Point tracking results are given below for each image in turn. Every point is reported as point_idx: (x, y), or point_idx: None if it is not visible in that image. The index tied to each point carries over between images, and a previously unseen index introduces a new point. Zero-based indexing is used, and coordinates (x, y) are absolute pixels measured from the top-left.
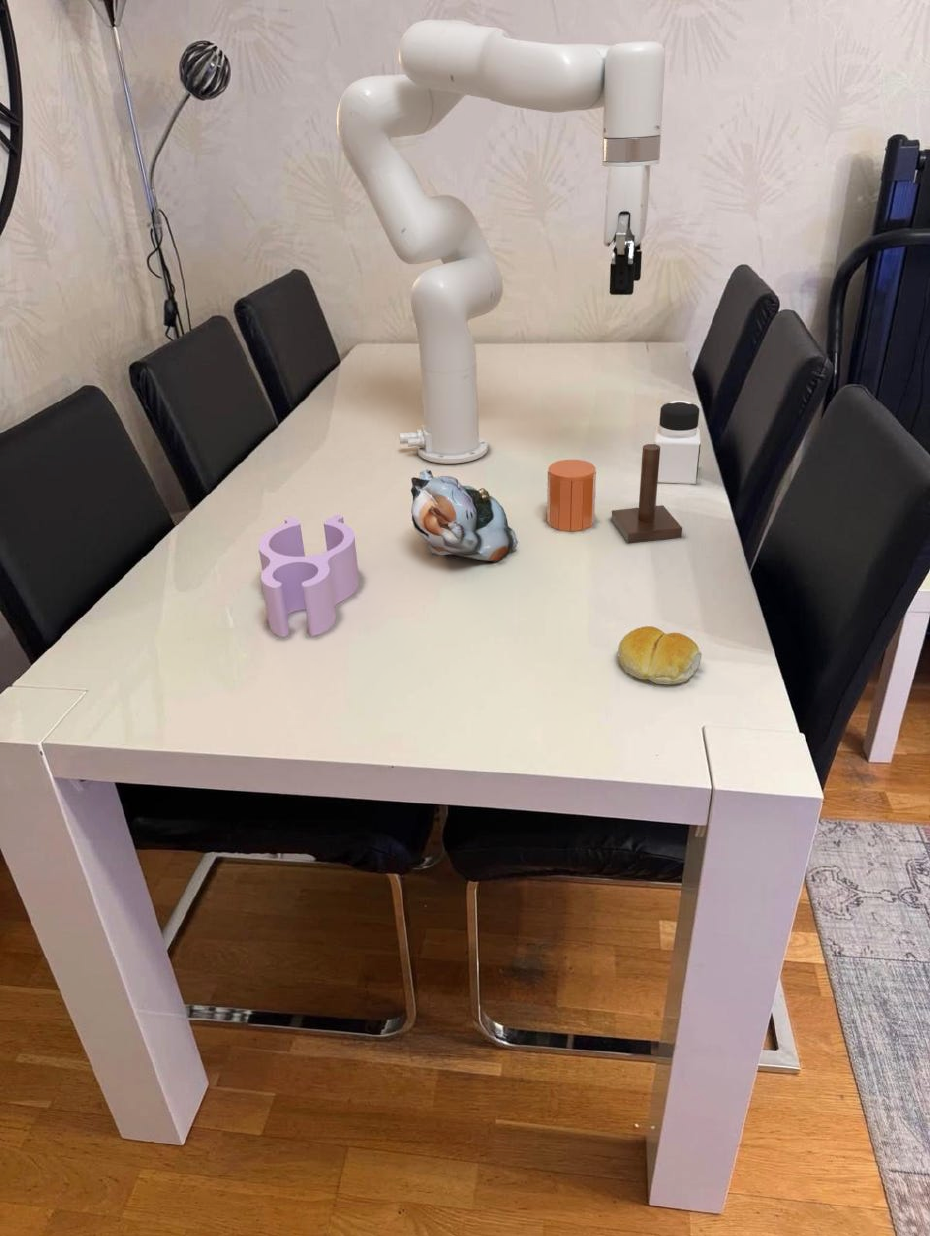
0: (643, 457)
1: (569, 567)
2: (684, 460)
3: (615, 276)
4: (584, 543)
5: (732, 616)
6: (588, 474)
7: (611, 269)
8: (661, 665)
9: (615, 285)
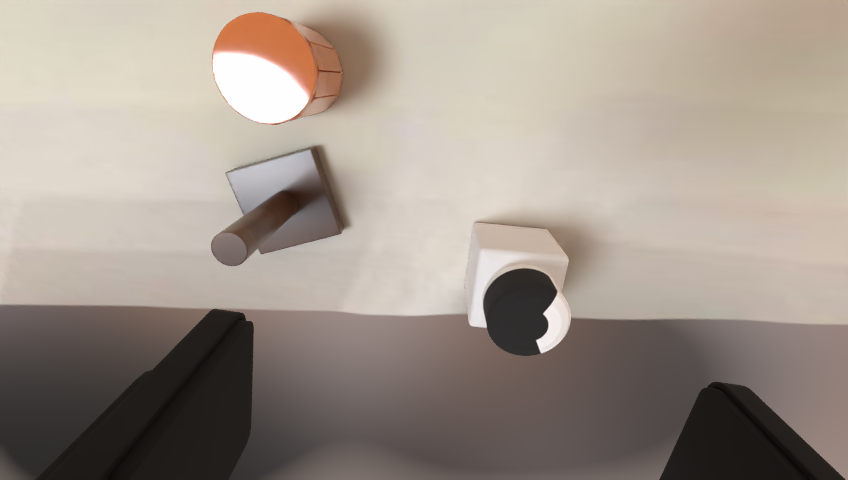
0: (227, 227)
1: (131, 72)
2: (469, 287)
3: (87, 429)
4: (220, 98)
5: (62, 284)
6: (234, 108)
7: (88, 444)
8: None
9: (141, 378)
